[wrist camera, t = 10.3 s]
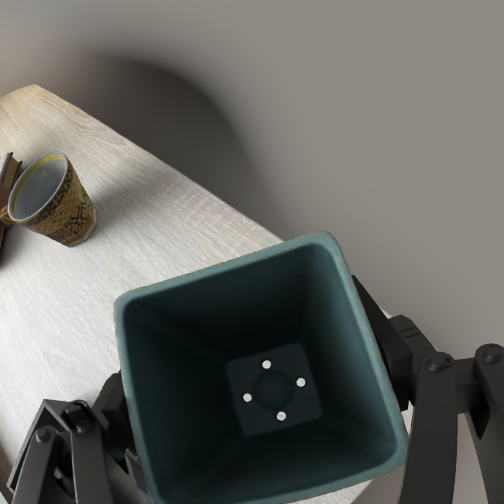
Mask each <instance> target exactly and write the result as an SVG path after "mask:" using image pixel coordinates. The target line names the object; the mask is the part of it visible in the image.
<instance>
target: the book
mask: <svg viewBox="0 0 504 504" xmlns="http://www.w3.org/2000/svg"><path fill="white" fill-rule="evenodd" d="M12 155H13V152H11V153H7V154H6V155H4V156H3V157H2V158H1V159H0V248H1V242H2V237H3V232H4V230H5V229H6V228H8V227H9V226H11V224H12V223H7V222H5V221H3V220H2V218H1V211H2V209H3V208H4V207H5V206H6V205H8V202H9V197H10V194H11V192H12V190H13V187H14V185H15V184H16V181H17V178H18V175H19V171H20V168H21V165H22V161H20V162H19V163H18V162H17V161H16V160H15V159H14V158H13V157H12ZM4 216H5V217H6V218H8V219H11V218H10V217H9V214H8V213H7V214H4Z"/></svg>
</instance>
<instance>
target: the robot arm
mask: <svg viewBox="0 0 504 504" xmlns="http://www.w3.org/2000/svg"><path fill="white" fill-rule="evenodd" d="M351 276H352V278H353V281H354V284H355V286H356V289H357V291H358V294H359V297H360V300H361V302H362V304H363V307H364V310H365V312H366V315H367V317H368V320H369V323H370V326H371V328H372V331H373V333H374V336H375V339H376V342H377V345H378V348H379V351H380V353H381V356H382V359H383V362H384V365H385V368H386V370H387V373H388V376H389V379H390V382H391V384H392V388H393V391H394V393H395V396H396V399H397V401H398V405H399V408H400V411H401V412H402V411H405V410H407V409H408V404H409V400H410V402H411V404H412V406H413V407H414V408H413V415H412V422H411V431H410V438H409V445H408V451H407V457H406V462H405V468H404V473H403V478H402V482H401V487H400V492H399V496H398V500H397V504H452V501H453V492H454V483H455V472H456V457H457V430H458V428H457V427H458V421H457V419H458V416H457V415H458V414H460V413H464V414H465V417H466V420H467V423H468V426H469V429H470V433H471V436H472V439H473V443H474V446H475V449H476V453H477V457H478V460H479V465H480V469H481V473H482V477H483V481H484V484H485V490H486V494H487V499H488V504H504V348H503V347H502V346H500V345H498V344H492V343H491V344H485V345H483V346H480V347H479V348H478V349H477V350H476V353H475V357H474V358H467V359H460V360H454V358H452V357H451V356H450V355H449V354H446V353H444V352H437V351H436V349H435V348H434V347H433V346H432V345H431V343H430V342H429V341H428V340H427V338H426V337H425V336H424V335H423V334H422V333H421V331H420V330H419V329H418V328H417V327H416V325H415V324H414V323H413V322H412V320H410V319H409V318H407V317H405V316H403V315H399V316H395V317H392V318H389V319H387V317H386V316H385V315H384V313H383V312H382V311H381V309H380V308H379V307H378V305H377V304H376V303H375V301H374V300H373V299H372V298H371V296H370V295H369V294H368V292H367V291H366V290H365V288H364V287H363V286H362V285H361V283H360V282H359V281H358V279H357V278H356V277H355V276H354V275H351ZM60 417H61V419H62V420H63V421H64V423H65V424H66V425H67V427H68V428H69V429H70V430H69V431H65V432H61V433H58V432H57V430H56V429H55V428H54V427H53V426H51V425H46V426H42V427H40V428H39V429H37V431H36V432H35V433H34V434H33V436H32V438H31V441H30V444H29V447H28V450H27V453H26V456H25V459H24V462H23V465H22V469H21V472H20V475H19V479H18V482H17V486H16V490H15V493H14V497H13V501H12V504H142V501H141V498H140V495H139V491H138V488H137V485H136V482H135V478H134V475H133V472H132V468H131V464H130V461H129V459H128V457H127V456H126V455H125V452H126V449H127V448H128V449H129V450H130V451H131V453H132V454H133V455H134V456H138V454H137V451H136V446H135V441H134V436H133V431H132V427H131V423H130V419H129V413H128V409H127V403H126V396H125V392H124V387H123V382H122V374H121V369H120V371H119V373H114V374H112V375H111V376H110V377H109V378H108V379H107V380H106V382H105V384H104V386H103V388H102V390H101V392H100V393H99V396H98V397H97V399H96V401H95V403H94V405H93V407H92V409H91V408H90V407H89V405H88V404H87V402H85V401H84V400H75V401H72V402H70V403H68V404H67V405H66V406H65V407H63V409H62V410H61V412H60ZM55 469H56V470H57V472H58V473H59V476H58V478H57V477H56V476H55V475H54V474H55Z"/></svg>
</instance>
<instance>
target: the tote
mask: <svg viewBox="0 0 504 504" xmlns="http://www.w3.org/2000/svg"><path fill="white" fill-rule="evenodd" d="M68 403H69V402H65V401H57V400H49V399H43V401H42V403H41V405H40V408H39V410H38V412H37V414H36V416H35V418H34V420H33V422H32V425H31V427H30V429H29V431H28V434H27V436H26V438H25V440H24V443H23V445H22V447H21V450H20V452H19V455H18V457H17V459H16V462H15V464H14V467H13V470H12V472H11V475H10V477H9V480H8V483H7V487H8V488H9V490H10V491H11V492H12V493H13V495H14V493H15V490H16V486H17V482H18V479H19V475H20V472H21V469H22V465H23V462H24V459H25V456H26V453H27V450H28V447H29V444H30V441H31V438H32V436H33V434H34V433H35V432H36V431H37V429H39V428H40V427H42V426H46V425H51V426H53V427H54V428H55V429H56V430H57V432H58V433H61V432H65V431H69V430H70V429H69V428H68V427H67V425H66V424H65V423H64V421H63V420H62V419H61V417H60V412H61V410H62V409H63V407H65V406H66V405H67V404H68ZM125 455H126V454H125ZM126 456H127V455H126ZM127 457H128V456H127ZM128 459H129V461H130V464H131V468H132V472H133V475H134V478H135V482H136V485H137V488H138V491H139V495H140V498H141V501H142V504H152V503H151V500H150V498H149V495H148V491H147V488H146V485H145V481H144V477H143V473H142V469H141V466H139V465H138V464H137V463H136V462H134V461H133V460H132V459H131V458H129V457H128ZM54 475H55V476H56V477H57V478H58V476H59V473H58V472H57V470H56V469H55V474H54Z"/></svg>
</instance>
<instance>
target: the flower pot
mask: <svg viewBox="0 0 504 504" xmlns="http://www.w3.org/2000/svg"><path fill="white" fill-rule="evenodd" d="M113 310H114V312H113V315H114V324H115V332H116V340H117V346H118V354H119V360H120V368H121V374H122V382H123V387H124V392H125V396H126V403H127V409H128V413H129V419H130V423H131V427H132V431H133V436H134V441H135V446H136V451H137V454H138V458H139V461H140V465H141V469H142V473H143V477H144V481H145V485H146V488H147V491H148V495H149V498H150V500H151V503H152V504H287V503H292V502H296V501H300V500H306V499H310V498H313V497H316V496H320V495H324V494H328V493H331V492H334V491H338V490H341V489H343V488H347V487H351V486H354V485H356V484H359V483H362V482H365V481H368V480H371V479H373V478H376V477H379V476H381V475H384V474H386V473H389V472H391V471H394V470H396V469H397V468H399V467H401V466H402V465H404V464H405V462H406V457H407V451H408V445H409V435H408V432H407V430H406V427H405V424H404V420H403V417H402V414H401V411H400V408H399V405H398V401H397V399H396V396H395V393H394V391H393V388H392V384H391V382H390V379H389V376H388V373H387V370H386V368H385V365H384V362H383V359H382V356H381V353H380V351H379V348H378V345H377V342H376V339H375V336H374V333H373V331H372V328H371V326H370V323H369V320H368V317H367V315H366V312H365V310H364V307H363V304H362V302H361V300H360V297H359V294H358V291H357V289H356V286H355V284H354V281H353V278H352V276H351V274H350V271H349V269H348V266H347V263H346V261H345V258H344V255H343V252H342V249H341V247H340V246H339V244H338V242H337V240H336V239H335V237H333V236H332V235H331V234H330V233H329V232H328V231H317V232H314V233H311V234H307V235H304V236H300V237H298V238H295V239H293V240H289V241H286V242H283V243H280V244H277V245H274V246H271V247H268V248H264V249H262V250H260V251H257V252H253V253H250V254H247V255H243V256H241V257H238V258H235V259H232V260H228V261H226V262H221V263H219V264H216V265H213V266H210V267H207V268H204V269H201V270H197V271H195V272H192V273H188V274H185V275H182V276H177V277H174V278H172V279H168V280H165V281H162V282H158V283H155V284H152V285H148V286H144V287H140V288H137V289H134V290H130V291H128V292H126V293H124V294H122V295H121V296H119V297H118V298H117V299H116V300H115V302H114V305H113ZM265 360H268V361H270V362H271V366H270V368H268V369H266V368H264V367H263V366H262V363H263V362H264V361H265ZM299 378H303V379H305V385H304V386H303V387H300V386H298V385H297V383H296V382H297V380H298V379H299ZM246 393H249V394H250V395H251V396H252V399H251V401H249V402H246V401H245V400H244V399H243V396H244V394H246ZM279 412H284V413H285V414H286V418H285V419H284V420H283V421H280V420H278V419H277V414H278V413H279Z"/></svg>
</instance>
